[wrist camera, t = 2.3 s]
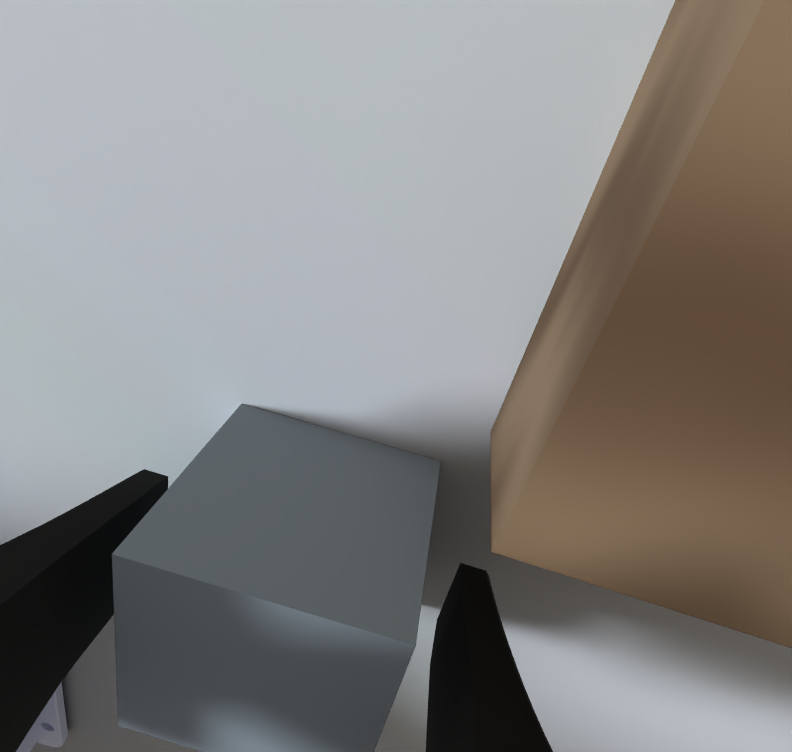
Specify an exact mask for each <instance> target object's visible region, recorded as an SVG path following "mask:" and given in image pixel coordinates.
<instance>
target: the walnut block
mask: <svg viewBox="0 0 792 752" xmlns="http://www.w3.org/2000/svg"><path fill="white" fill-rule="evenodd" d="M491 551H492V552H493V553H497V554H500V555H503V556H506V557H509V558H512V559H515V560H518V561H521V562H525V563H528V564H531V565H534V566H537V567H540V568H543V569H546V570H550V571H553V572H556V573H559V574H562V575H565V576H568V577H571V578H575V579H578V580H581V581H584V582H587V583H590V584H593V585H596V586H600V587H603V588H606V589H609V590H612V591H615V592H618V593H621V594H625V595H628V596H631V597H634V598H637V599H640V600H643V601H646V602H650V603H653V604H656V605H659V606H662V607H665V608H668V609H671V610H675V611H678V612H681V613H684V614H687V615H690V616H693V617H696V618H700V619H703V620H706V621H709V622H712V623H715V624H718V625H721V626H725V627H728V628H731V629H734V630H737V631H740V632H743V633H746V634H750V635H753V636H756V637H759V638H762V639H765V640H768V641H771V642H775V643H778V644H781V645H784V646H787V647H790V648H792V0H675V3H674V5H673V7H672V10H671V12H670V14H669V17H668V19H667V21H666V24H665V26H664V28H663V31H662V33H661V35H660V38H659V40H658V42H657V45H656V47H655V49H654V52H653V54H652V56H651V59H650V61H649V63H648V66H647V68H646V70H645V73H644V75H643V77H642V80H641V82H640V84H639V87H638V89H637V91H636V94H635V96H634V98H633V101H632V103H631V105H630V108H629V110H628V112H627V115H626V117H625V119H624V122H623V124H622V126H621V129H620V131H619V133H618V136H617V138H616V140H615V143H614V145H613V147H612V150H611V152H610V154H609V157H608V159H607V161H606V164H605V166H604V168H603V171H602V173H601V175H600V178H599V180H598V182H597V185H596V187H595V189H594V192H593V194H592V197H591V199H590V201H589V204H588V206H587V208H586V211H585V213H584V215H583V218H582V220H581V222H580V225H579V227H578V229H577V232H576V234H575V236H574V239H573V241H572V243H571V246H570V248H569V250H568V253H567V255H566V257H565V260H564V262H563V264H562V267H561V269H560V271H559V274H558V276H557V278H556V281H555V283H554V285H553V288H552V290H551V292H550V295H549V297H548V299H547V302H546V304H545V306H544V309H543V311H542V313H541V316H540V318H539V320H538V323H537V325H536V327H535V330H534V332H533V334H532V337H531V339H530V341H529V344H528V346H527V348H526V351H525V353H524V355H523V358H522V360H521V362H520V365H519V367H518V369H517V372H516V374H515V376H514V379H513V381H512V383H511V386H510V388H509V390H508V393H507V395H506V397H505V400H504V402H503V404H502V407H501V409H500V411H499V414H498V416H497V418H496V421H495V423H494V426H493V428H492V430H491Z"/></svg>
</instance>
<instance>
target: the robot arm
mask: <svg viewBox="0 0 792 752" xmlns="http://www.w3.org/2000/svg"><path fill="white" fill-rule="evenodd" d="M167 490H168V476H165V475H161V474H158V473H155V472H151V471H148V470H145V469H144V470H142V471H140V472H138V473H136V474H135V475H133V476H131V477H129V478H127V479H125V480H124V481H122V482H120V483H118V484H116V485H115V486H113V487H111V488H109V489H108V490H106V491H104V492H102V493H100V494H99V495H97V496H95V497H93V498H91V499H90V500H88V501H86V502H84V503H82V504H80V505H79V506H77V507H75V508H73V509H71V510H69V511H67V512H66V513H64V514H62V515H60V516H58V517H56V518H54V519H52V520H51V521H49V522H47V523H45V524H43V525H41V526H39V527H37V528H35V529H33V530H31V531H29V532H27V533H24V534H22V535H20V536H18V537H16V538H14V539H12V540H10V541H8V542H6V543H4V544H2V545H0V752H30V751H31V750H32V749H33V747H34V746H35V745H36V743H40V744H43V745H46V746H49V747H53V748H58V747H61V746H62V745H63V744H64V742H65V741H66V739H67V738H68V730H67V722H66V714H65V706H64V698H63V690H62V680H63V679H64V678H65V676H66V675H67V673H68V672H69V671H70V669H71V668H72V667H73V665H74V664H75V663H76V661H77V660H78V659H79V657H80V656H81V655H82V654H83V652H84V651H85V650H86V649H87V647H88V646H89V645H90V644H91V642H92V641H93V640H94V638H95V637H96V636H97V635H98V633H99V632H100V631H101V630H102V628H103V627H104V626H105V625H106V623H107V622H108V621H109V619H110V618H111V617H112V616H113V614H114V597H113V571H112V553H113V552H114V551H115V550H116V549H117V548H118V546H119V545H120V544H121V543H122V542H123V541H124V539H125V538H126V537H127V536H128V535H129V534H130V532H131V531H132V530H133V529H134V528H135V527H136V526H137V524H138V523H139V522H140V521H141V520H142V519H143V517H144V516H145V515H146V514H147V513H148V512H149V510H150V509H151V508H152V507H153V506H154V505H155V503H156V502H157V501H158V500H159V499H160V498H161V497H162V495H163V494H164V493H165V492H166V491H167ZM426 752H553V751H552V749H551V747H550V745H549V743H548V740H547V738H546V736H545V734H544V732H543V730H542V727H541V725H540V723H539V721H538V718H537V716H536V714H535V712H534V709H533V707H532V704H531V702H530V699H529V697H528V695H527V692H526V690H525V687H524V685H523V682H522V680H521V677H520V674H519V672H518V669H517V666H516V663H515V661H514V658H513V655H512V652H511V649H510V647H509V644H508V641H507V638H506V635H505V632H504V629H503V625H502V622H501V619H500V616H499V612H498V609H497V606H496V602H495V598H494V595H493V591H492V587H491V583H490V579H489V575H488V573H487V572H486V570H482V569H479V568H475V567H472V566H469V565H465V564H462V563H460V565H459V568H458V570H457V573H456V575H455V577H454V580H453V582H452V585H451V587H450V590H449V592H448V594H447V597H446V599H445V602H444V604H443V607H442V609H441V611H440V614H439V616H438V619H437V624H436V630H435V636H434V643H433V649H432V656H431V663H430V678H429V697H428V717H427V738H426Z"/></svg>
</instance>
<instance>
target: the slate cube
mask: <svg viewBox="0 0 792 752" xmlns="http://www.w3.org/2000/svg"><path fill="white" fill-rule="evenodd" d="M440 463H441V461H439V460H435V459H432V458H428V457H425V456H421V455H418V454H414V453H411V452H407V451H404V450H401V449H397V448H394V447H390V446H387V445H383V444H380V443H376V442H373V441H369V440H366V439H363V438H359V437H356V436H352V435H349V434H345V433H342V432H338V431H335V430H331V429H328V428H324V427H321V426H318V425H314V424H311V423H307V422H304V421H300V420H297V419H293V418H290V417H286V416H283V415H280V414H276V413H273V412H269V411H266V410H262V409H259V408H255V407H252V406H248V405H245V404H241V405H240V406H239V407H238V408H237V410H236V411H235V412H234V413H233V414H232V415H231V417H230V418H229V419H228V420H227V421H226V422H225V424H224V425H223V426H222V427H221V428H220V429H219V430H218V432H217V433H216V434H215V435H214V436H213V437H212V439H211V440H210V441H209V442H208V443H207V444H206V446H205V447H204V448H203V449H202V450H201V451H200V452H199V454H198V455H197V456H196V457H195V458H194V459H193V461H192V462H191V463H190V464H189V465H188V466H187V468H186V469H185V470H184V471H183V472H182V473H181V475H180V476H179V477H178V478H177V479H176V480H175V481H174V483H173V484H172V485H171V486H170V487H169V488H168V490H167V491H166V492H165V493H164V494H163V495H162V497H161V498H160V499H159V500H158V501H157V502H156V503H155V505H154V506H153V507H152V508H151V509H150V510H149V512H148V513H147V514H146V515H145V516H144V517H143V519H142V520H141V521H140V522H139V523H138V524H137V526H136V527H135V528H134V529H133V530H132V531H131V532H130V534H129V535H128V536H127V537H126V538H125V539H124V541H123V542H122V543H121V544H120V545H119V546H118V548H117V549H116V550H115V551H114V552H113V553H112V571H113V597H114V622H115V648H116V673H117V699H118V724H119V726H120V727H124V728H127V729H130V730H133V731H136V732H140V733H143V734H146V735H149V736H152V737H156V738H159V739H162V740H165V741H168V742H172V743H175V744H178V745H181V746H184V747H187V748H191V749H194V750H197V751H200V752H374V750H375V747H376V745H377V742H378V739H379V737H380V734H381V732H382V729H383V727H384V724H385V722H386V719H387V717H388V714H389V712H390V709H391V707H392V704H393V702H394V699H395V696H396V694H397V691H398V689H399V686H400V684H401V681H402V679H403V676H404V674H405V671H406V669H407V666H408V664H409V661H410V659H411V656H412V653H413V651H414V648H415V646H416V639H417V632H418V624H419V617H420V610H421V602H422V595H423V588H424V580H425V573H426V566H427V558H428V551H429V544H430V536H431V529H432V522H433V514H434V507H435V500H436V492H437V485H438V478H439V470H440Z"/></svg>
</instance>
